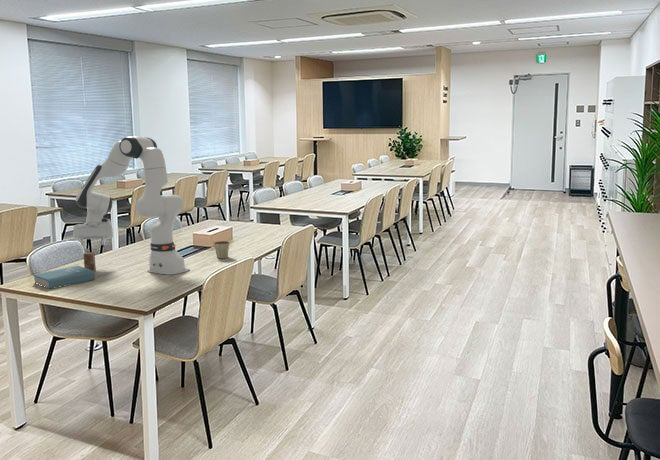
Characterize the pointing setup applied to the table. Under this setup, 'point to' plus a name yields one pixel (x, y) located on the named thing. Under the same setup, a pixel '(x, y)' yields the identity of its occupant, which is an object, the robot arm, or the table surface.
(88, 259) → the walnut block
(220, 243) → the flower pot
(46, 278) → the book
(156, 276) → the table surface
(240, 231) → the table surface
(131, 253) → the table surface
